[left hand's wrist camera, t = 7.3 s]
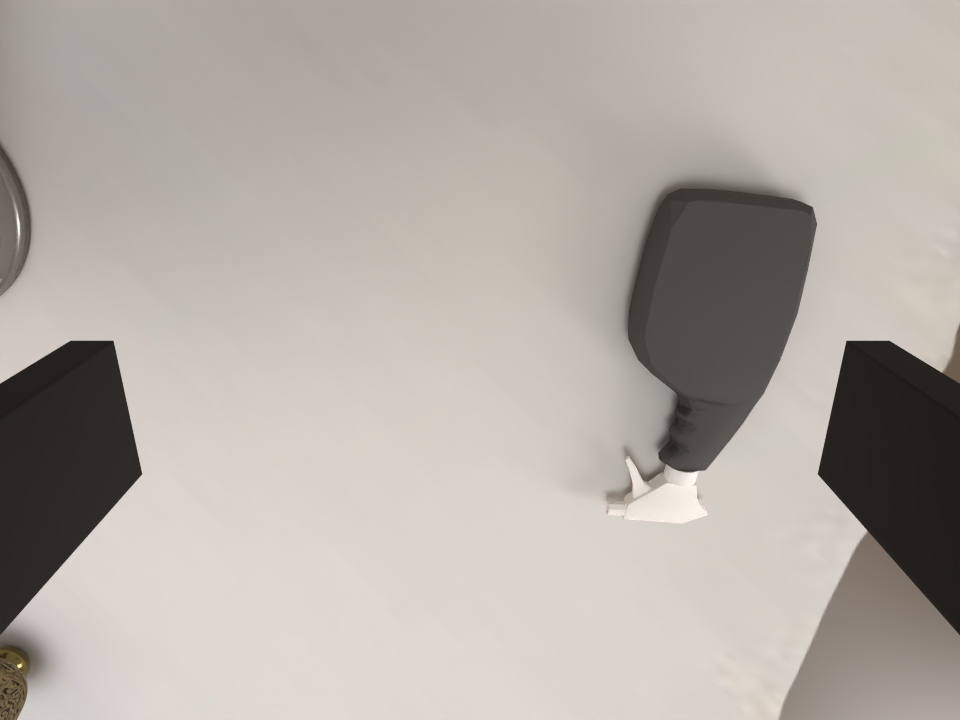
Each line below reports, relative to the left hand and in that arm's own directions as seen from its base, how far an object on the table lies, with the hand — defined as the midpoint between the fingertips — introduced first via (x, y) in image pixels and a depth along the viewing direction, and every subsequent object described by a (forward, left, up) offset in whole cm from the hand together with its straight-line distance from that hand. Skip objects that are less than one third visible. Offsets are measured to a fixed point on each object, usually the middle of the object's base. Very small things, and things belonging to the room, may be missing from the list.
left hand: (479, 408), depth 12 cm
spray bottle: (+16, +12, -33) cm, 39 cm away
